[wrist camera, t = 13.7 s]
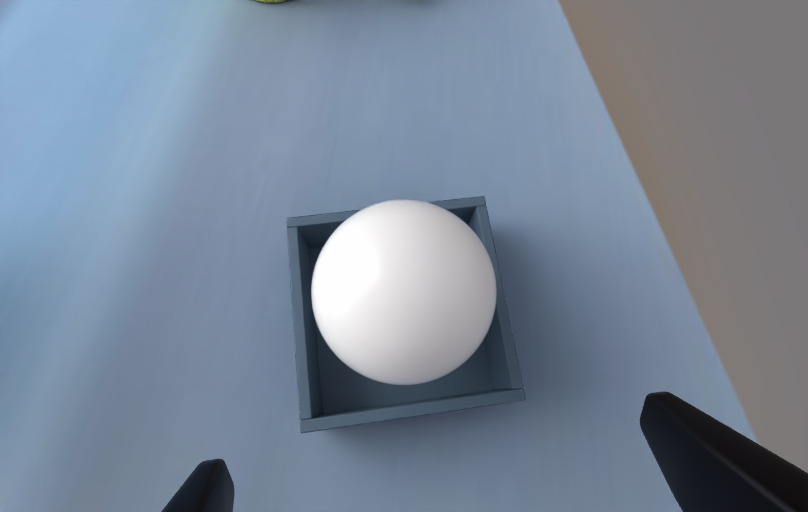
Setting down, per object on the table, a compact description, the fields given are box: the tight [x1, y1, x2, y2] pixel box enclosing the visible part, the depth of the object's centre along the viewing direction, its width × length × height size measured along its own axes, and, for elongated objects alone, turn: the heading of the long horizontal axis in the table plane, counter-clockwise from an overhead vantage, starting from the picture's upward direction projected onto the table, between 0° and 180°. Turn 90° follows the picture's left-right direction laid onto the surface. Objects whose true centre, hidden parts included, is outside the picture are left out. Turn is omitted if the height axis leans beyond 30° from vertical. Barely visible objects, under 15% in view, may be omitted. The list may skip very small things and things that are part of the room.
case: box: [286, 196, 525, 433], centre depth 22 cm, size 10×10×4 cm
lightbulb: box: [311, 199, 497, 385], centre depth 18 cm, size 6×6×11 cm
